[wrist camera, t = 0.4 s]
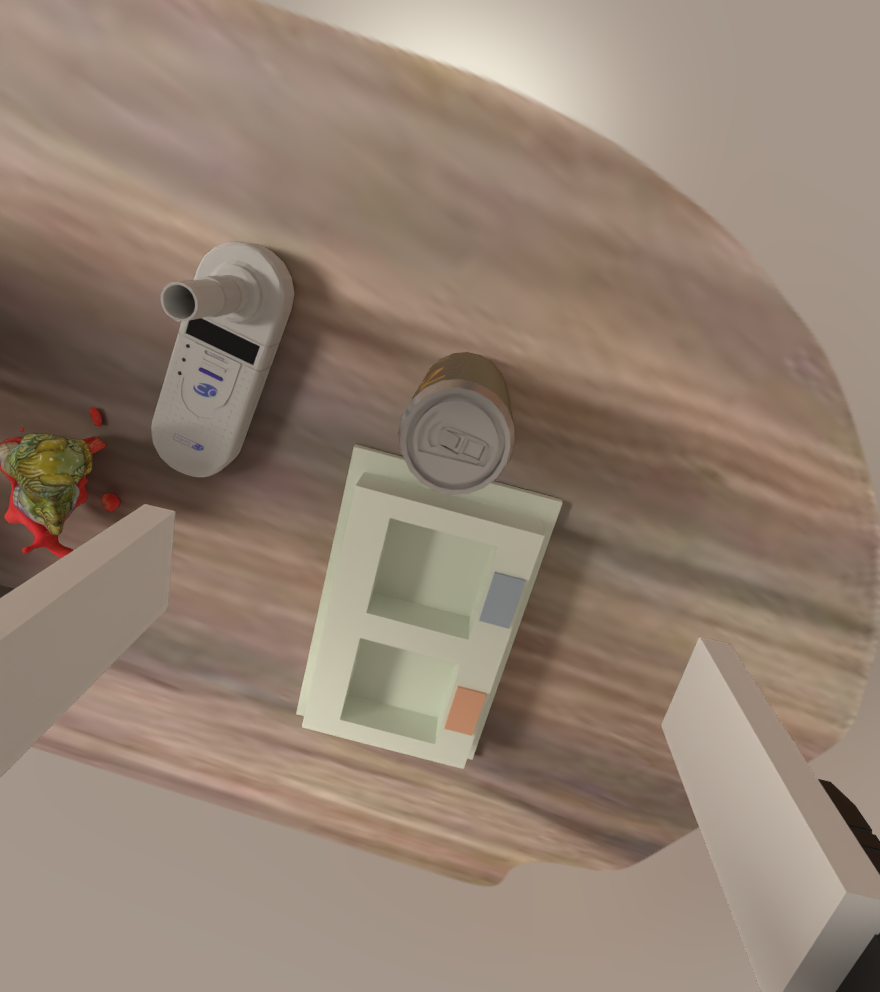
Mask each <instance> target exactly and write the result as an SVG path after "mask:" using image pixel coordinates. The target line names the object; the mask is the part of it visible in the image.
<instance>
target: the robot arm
mask: <svg viewBox="0 0 880 992" xmlns="http://www.w3.org/2000/svg"><path fill="white" fill-rule="evenodd" d="M174 522H175V511H172V510H168V509H164V508H160V507H155V506H151V505H147V504H144V505H142V506H141V507H139V508H138V509H136V510H135V511H133V512H132V513H130V514H129V515H127V516H126V517H124V518H123V519H121V520H119V521H118V522H116V523H115V524H113V525H112V526H110V527H109V528H107V529H106V530H104V531H103V532H101V533H100V534H98V535H96V536H95V537H93V538H92V539H90V540H89V541H87V542H86V543H84V544H83V545H81V546H80V547H78V548H77V549H75V550H73V551H72V552H70V553H69V554H67V555H66V556H64V557H63V558H61V559H60V560H58V561H57V562H55V563H54V564H52V565H50V566H49V567H47V568H46V569H44V570H43V571H41V572H40V573H38V574H37V575H35V576H34V577H32V578H31V579H29V580H27V581H26V582H24V583H23V584H21V585H20V586H18V587H17V588H15V589H13V588H9V587H5V586H1V585H0V778H1V777H2V776H3V775H4V774H5V773H6V772H7V771H8V770H9V769H10V768H11V767H12V766H13V765H14V764H15V763H16V761H17V760H19V759H20V758H21V757H22V756H23V754H24V753H25V752H26V751H27V750H28V749H29V748H30V747H31V746H32V745H33V744H34V743H35V742H36V741H37V740H38V739H39V738H40V737H41V736H42V735H43V734H44V733H45V732H46V731H47V730H48V729H49V728H50V727H51V726H52V725H53V724H54V723H55V722H56V721H57V720H58V719H59V718H60V717H61V716H62V715H63V714H64V713H65V712H66V711H67V710H68V709H69V708H70V707H71V706H72V705H73V704H74V703H75V702H76V701H77V700H78V699H79V698H80V697H81V695H82V694H83V693H84V692H85V691H86V690H87V689H88V688H89V687H90V686H91V685H92V684H93V683H94V682H95V681H96V680H97V679H98V678H99V677H100V676H101V675H102V674H103V673H104V672H105V671H106V670H107V669H108V668H109V667H110V666H111V665H112V664H113V663H114V662H115V661H116V660H117V659H118V658H119V657H120V656H121V655H122V654H123V653H124V652H125V651H126V650H127V649H128V648H129V647H130V646H131V645H132V644H133V643H134V642H135V641H136V640H137V639H138V638H139V636H140V635H141V634H142V633H143V632H144V631H145V630H146V629H147V628H148V627H149V626H150V625H151V624H152V623H153V622H154V621H155V620H156V619H157V618H158V617H159V616H160V615H161V614H162V613H163V612H164V611H165V610H166V609H167V608H168V600H169V587H170V574H171V561H172V548H173V535H174ZM661 727H662V729H663V732H664V735H665V737H666V740H667V743H668V745H669V748H670V751H671V753H672V756H673V759H674V761H675V764H676V767H677V769H678V772H679V775H680V777H681V780H682V783H683V785H684V788H685V791H686V793H687V796H688V799H689V801H690V804H691V807H692V810H693V812H694V815H695V818H696V820H697V823H698V826H699V828H700V831H701V833H702V836H703V839H704V841H705V844H706V847H707V850H708V852H709V855H710V857H711V860H712V863H713V866H714V868H715V871H716V874H717V876H718V879H719V882H720V884H721V887H722V890H723V892H724V895H725V898H726V900H727V903H728V906H729V908H730V911H731V913H732V916H733V919H734V922H735V924H736V927H737V930H738V932H739V935H740V938H741V940H742V943H743V946H744V948H745V951H746V954H747V956H748V959H749V962H750V964H751V967H752V970H753V972H754V975H755V978H756V980H757V983H758V986H759V989H760V991H761V992H880V841H879V839H878V838H877V836H876V835H873V834H872V829H871V828H870V826H869V825H868V823H867V822H866V820H865V819H864V818H863V816H862V815H861V813H860V812H859V810H858V809H857V807H856V806H855V805H854V804H853V803H852V802H851V801H850V800H849V799H848V798H847V797H846V796H845V795H843V793H842V792H841V791H839V790H838V789H837V788H836V787H835V786H834V785H833V784H832V783H831V782H828V781H824V780H820V779H817V777H816V776H815V774H814V773H813V771H812V769H811V768H810V766H809V765H808V763H807V762H806V760H805V759H804V757H803V756H802V754H801V752H800V751H799V749H798V748H797V746H796V745H795V743H794V742H793V740H792V739H791V737H790V735H789V734H788V732H787V731H786V729H785V728H784V726H783V725H782V723H781V721H780V720H779V718H778V717H777V715H776V714H775V712H774V711H773V709H772V708H771V706H770V704H769V703H768V701H767V700H766V698H765V697H764V695H763V694H762V692H761V691H760V689H759V687H758V686H757V684H756V683H755V681H754V680H753V678H752V677H751V675H750V674H749V672H748V670H747V669H746V667H745V666H744V664H743V663H742V661H741V660H740V658H739V656H738V655H737V653H736V652H735V650H734V649H733V647H732V646H731V644H729V643H725V642H721V641H717V640H712V639H708V638H704V637H699V639H698V641H697V644H696V646H695V648H694V651H693V653H692V655H691V657H690V660H689V662H688V664H687V667H686V669H685V671H684V674H683V676H682V678H681V681H680V683H679V685H678V687H677V690H676V692H675V694H674V697H673V699H672V701H671V704H670V706H669V708H668V711H667V713H666V715H665V717H664V720H663V722H662V724H661Z"/></svg>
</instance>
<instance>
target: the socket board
mask: <svg viewBox="0 0 880 992" xmlns="http://www.w3.org/2000/svg"><path fill="white" fill-rule="evenodd" d="M562 503H563V502H562V499H559V498H555V497H551V496H547V495H544V494H540V493H536V492H533V491H529V490H525V489H521V488H518V487H514V486H510V485H506V484H503V483H499V482H495V481H492V482H491V483H490V484H488V485H487V486H486V487H484V488H483V489H480V490H477V491H475V492H472V493H469V494H460V495H449V494H445V493H441V492H437V491H434V490H432V489H431V488H429V487H427V486H425V485H424V484H422V483H420V481H419V480H418V479H417V478H416V477H415V476H414V475H413V474H412V473H411V472H410V470H409V468H408V466H407V464H406V462H405V460H404V457H402V456H398V455H395V454H391V453H387V452H384V451H380V450H376V449H372V448H369V447H365V446H361V445H357V444H355V446H354V448H353V453H352V457H351V462H350V467H349V471H348V476H347V481H346V485H345V490H344V495H343V499H342V504H341V509H340V513H339V518H338V522H337V527H336V532H335V536H334V541H333V546H332V550H331V555H330V560H329V564H328V569H327V573H326V578H325V583H324V587H323V592H322V597H321V601H320V606H319V611H318V615H317V620H316V624H315V629H314V634H313V638H312V643H311V648H310V652H309V657H308V662H307V666H306V671H305V676H304V680H303V685H302V689H301V694H300V699H299V703H298V708H297V713H296V714H298V715H302V716H304V720H303V725H302V727H303V728H307V729H311V730H315V731H318V732H322V733H326V734H330V735H334V736H338V737H342V738H345V739H349V740H353V741H357V742H361V743H365V744H369V745H372V746H376V747H380V748H384V749H388V750H392V751H396V752H400V753H403V754H407V755H411V756H415V757H419V758H423V759H427V760H430V761H434V762H438V763H442V764H446V765H450V766H454V767H458V768H461V769H464V766H465V763H466V761H467V758H468V759H473V756H474V753H475V750H476V748H477V745H478V742H479V739H480V736H481V733H482V730H483V728H484V725H485V722H486V719H487V716H488V713H489V711H490V708H491V705H492V702H493V699H494V696H495V694H496V691H497V688H498V685H499V682H500V679H501V676H502V674H503V671H504V668H505V665H506V662H507V659H508V657H509V654H510V651H511V648H512V645H513V642H514V640H515V637H516V634H517V631H518V628H519V625H520V622H521V620H522V617H523V614H524V611H525V608H526V605H527V603H528V600H529V597H530V594H531V591H532V588H533V585H534V583H535V580H536V577H537V574H538V571H539V568H540V566H541V563H542V560H543V557H544V554H545V551H546V549H547V546H548V543H549V540H550V537H551V534H552V531H553V529H554V526H555V523H556V520H557V517H558V514H559V512H560V509H561V506H562Z"/></svg>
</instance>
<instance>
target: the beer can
mask: <svg viewBox="0 0 880 992" xmlns="http://www.w3.org/2000/svg"><path fill="white" fill-rule="evenodd" d="M398 433H399V442H400V450H401V453H402V455H403V457H404V460H405V462H406V464H407V466H408V468H409V470H410V472H411V473H412V474H413V475H414V476H415V477H416V478H417V479H418V480H419V481H420V483H422V484H424V485H425V486H427V487H429V488H431V489H432V490H434V491H437V492H441V493H445V494H449V495H460V494H469V493H472V492H475V491H477V490H480V489H483V488H484V487H486V486H487V485H488V484H490V483H491V482H492V481H493V480H495V479H496V478H497V477H498V476H499V475H500V474H501V472H502V471H503V469H504V468H505V466H506V465H507V463H508V462H509V460H510V458H511V454H512V451H513V447H514V444H515V438H514V423H513V417H512V412H511V406H510V401H509V396H508V390H507V386H506V383H505V381H504V378H503V375H502V373H501V372H500V371H499V370H498V368H497V367H496V366H495V365H494V364H493V363H492V362H491V361H489V360H487V359H486V358H484V357H483V356H481V355H477V354H473V353H469V352H465V353H454V354H451V355H449V356H446V357H444V358H442V359H440V360H439V361H438V362H437V363H436V364H434V365H433V366H432V367H431V368H430V370H429V371H428V373H427V375H426V376H425V378H424V380H423V381H422V383H421V385H420V386H419V388H418V390H417V391H416V393H415V395H414V396H413V398H412V399H411V401H410V403H409V405H408V406H407V408H406V410H405V411H404V413H403V415H402V418H401V423H400V428H399V432H398Z"/></svg>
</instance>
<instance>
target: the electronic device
mask: <svg viewBox="0 0 880 992" xmlns="http://www.w3.org/2000/svg"><path fill="white" fill-rule="evenodd" d="M294 295H295V293H294V287H293V282H292V277H291V275H290V273H289V271H288V269H287V267H286V266H285V264H284V262H283V261H282V260H281V259H280V258H279V257H278V256H276V255H275V254H274V253H273V252H272V251H271V250H269V249H267V248H265V247H263V246H261V245H259V244H253V243H245V242H228V243H224V244H221V245H218V246H215V247H214V248H213V249H212V250H211V251H209V252H208V253H207V254H206V255H205V256H204V257H203V259H202V261H201V263H200V265H199V267H198V269H197V271H196V274H195V277H194V280H193V281H182V282H172V283H170V284H168V285H166V286H165V287H164V289H163V290H162V293H161V296H160V297H161V305H162V307H163V310H164V311H165V313H166V314H167V315H168V316H169V317H171V318H172V319H174V320H176V321H177V322H178V321H182V322H181V325H180V329H179V332H178V335H177V339H176V342H175V346H174V349H173V352H172V356H171V359H170V363H169V366H168V369H167V373H166V376H165V380H164V383H163V386H162V390H161V393H160V397H159V400H158V403H157V407H156V410H155V414H154V417H153V420H152V424H151V434H152V441H153V445H154V446H155V448H156V450H157V452H158V454H159V456H160V458H161V459H162V460H164V461H165V462H166V463H167V464H168V465H169V466H170V467H171V468H173V469H175V470H177V471H179V472H181V473H183V474H185V475H189V476H193V477H208V476H211V475H214V474H216V473H218V472H219V471H221V470H222V469H223V468H225V467H226V466H227V465H228V464H229V463H231V462H232V461H233V460H234V459H235V458H236V457H237V455H238V454H239V453H240V451H241V448H242V445H243V442H244V440H245V437H246V434H247V431H248V429H249V426H250V423H251V420H252V418H253V415H254V412H255V409H256V407H257V404H258V401H259V398H260V396H261V393H262V390H263V387H264V385H265V382H266V379H267V376H268V374H269V371H270V368H271V365H272V363H273V360H274V357H275V354H276V352H277V349H278V346H279V342H280V341H281V338H282V335H283V332H284V329H285V327H286V324H287V321H288V318H289V316H290V313H291V310H292V305H293V300H294Z"/></svg>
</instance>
